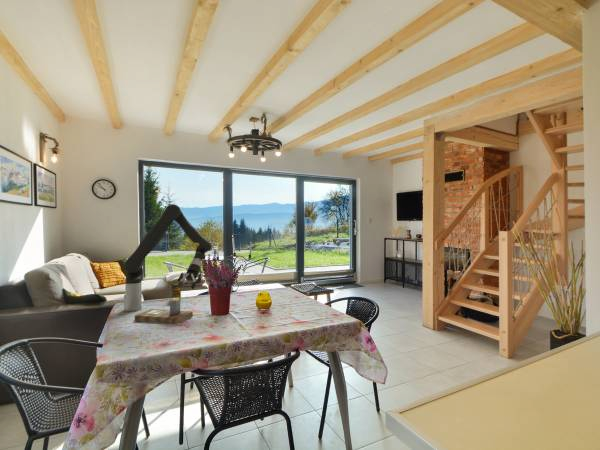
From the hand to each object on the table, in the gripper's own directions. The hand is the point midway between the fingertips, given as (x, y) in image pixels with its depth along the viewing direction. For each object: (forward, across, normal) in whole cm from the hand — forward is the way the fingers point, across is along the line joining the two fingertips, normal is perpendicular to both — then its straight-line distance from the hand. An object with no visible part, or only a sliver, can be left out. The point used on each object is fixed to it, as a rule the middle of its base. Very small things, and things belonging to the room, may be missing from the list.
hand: (185, 288), depth 195 cm
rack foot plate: (+19, -7, +3) cm, 21 cm away
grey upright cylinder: (+19, 0, +3) cm, 19 cm away
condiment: (-7, -24, +30) cm, 39 cm away
